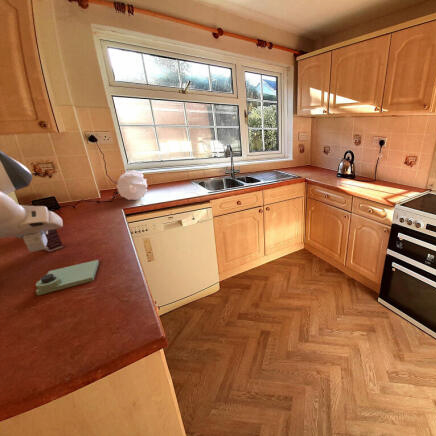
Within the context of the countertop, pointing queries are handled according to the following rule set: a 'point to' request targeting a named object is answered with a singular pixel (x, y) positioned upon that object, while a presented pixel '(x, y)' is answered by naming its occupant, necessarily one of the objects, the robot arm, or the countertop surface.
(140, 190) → the crumpled paper ball
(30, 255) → the countertop surface
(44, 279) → the tare button
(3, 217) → the robot arm
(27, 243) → the medicine box
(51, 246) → the supplement box
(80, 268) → the scale
